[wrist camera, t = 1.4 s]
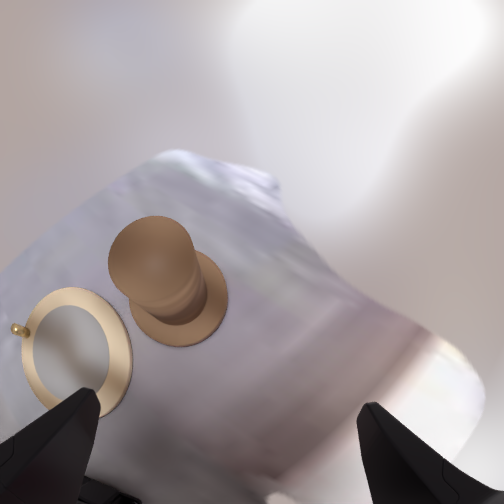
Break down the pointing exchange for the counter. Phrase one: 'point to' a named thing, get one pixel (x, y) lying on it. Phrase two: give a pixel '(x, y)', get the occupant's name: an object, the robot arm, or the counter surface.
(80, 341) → the plate
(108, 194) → the counter surface
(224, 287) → the brown flanged knob
